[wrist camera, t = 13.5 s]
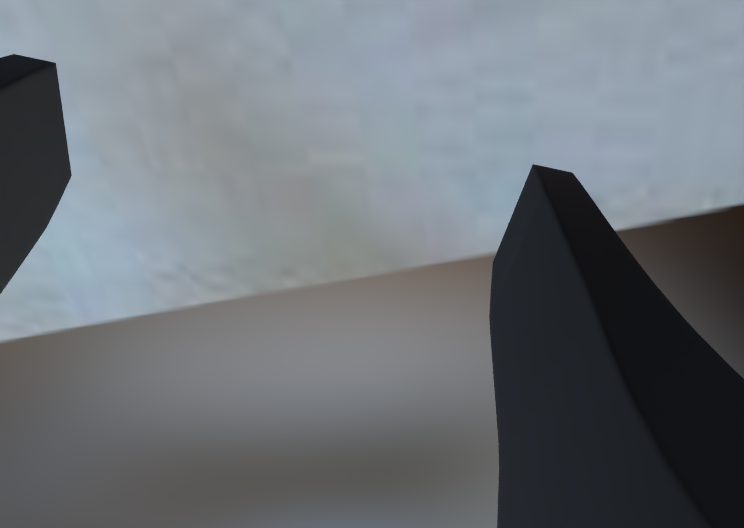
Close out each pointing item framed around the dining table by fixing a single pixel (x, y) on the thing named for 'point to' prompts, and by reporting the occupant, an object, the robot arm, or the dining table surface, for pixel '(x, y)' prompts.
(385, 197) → the dining table surface
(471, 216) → the dining table surface
